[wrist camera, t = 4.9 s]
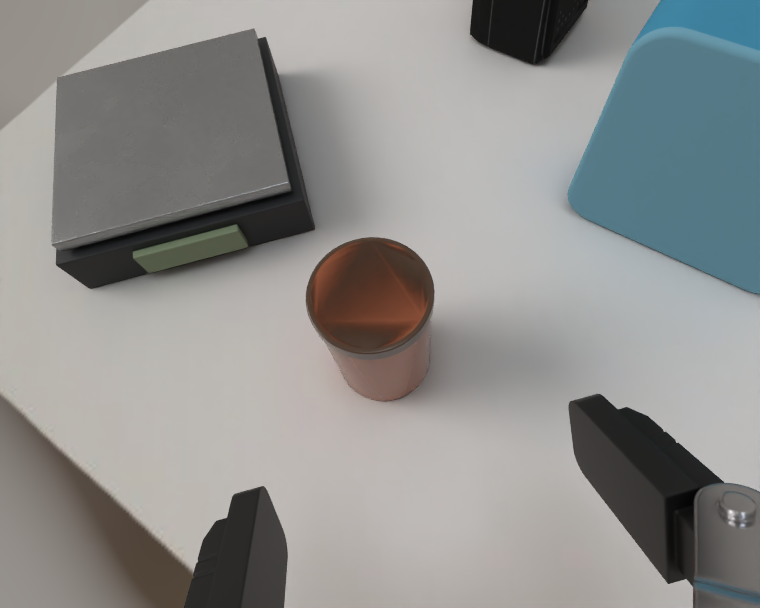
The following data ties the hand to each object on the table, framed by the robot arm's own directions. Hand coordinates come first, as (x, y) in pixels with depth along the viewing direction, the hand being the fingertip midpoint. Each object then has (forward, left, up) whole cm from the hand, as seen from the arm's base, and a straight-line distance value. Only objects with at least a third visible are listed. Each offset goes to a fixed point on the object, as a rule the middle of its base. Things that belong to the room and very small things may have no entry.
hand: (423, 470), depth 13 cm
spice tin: (0, +7, -12) cm, 14 cm away
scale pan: (-9, +23, -8) cm, 26 cm away
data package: (+18, +10, -12) cm, 24 cm away
